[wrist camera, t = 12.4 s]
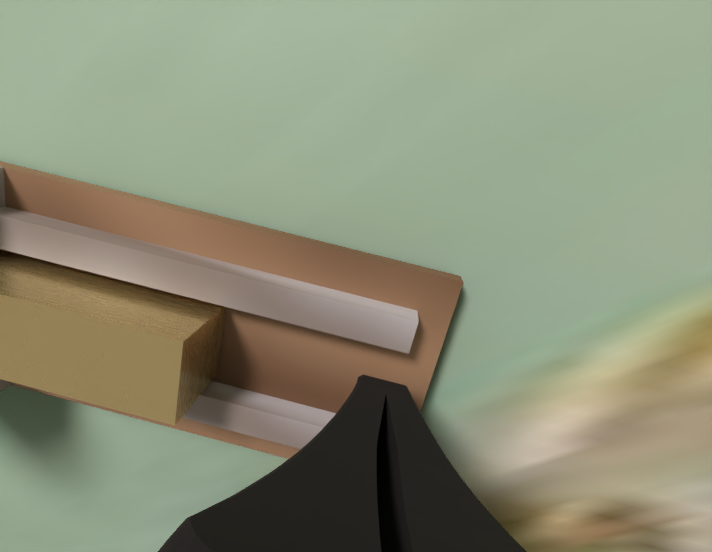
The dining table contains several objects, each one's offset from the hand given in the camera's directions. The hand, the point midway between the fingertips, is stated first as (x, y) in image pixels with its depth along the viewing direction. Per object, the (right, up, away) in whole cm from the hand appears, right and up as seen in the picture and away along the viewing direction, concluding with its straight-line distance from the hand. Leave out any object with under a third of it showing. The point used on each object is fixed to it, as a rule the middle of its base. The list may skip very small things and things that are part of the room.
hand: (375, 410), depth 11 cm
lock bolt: (-9, +3, +2) cm, 9 cm away
